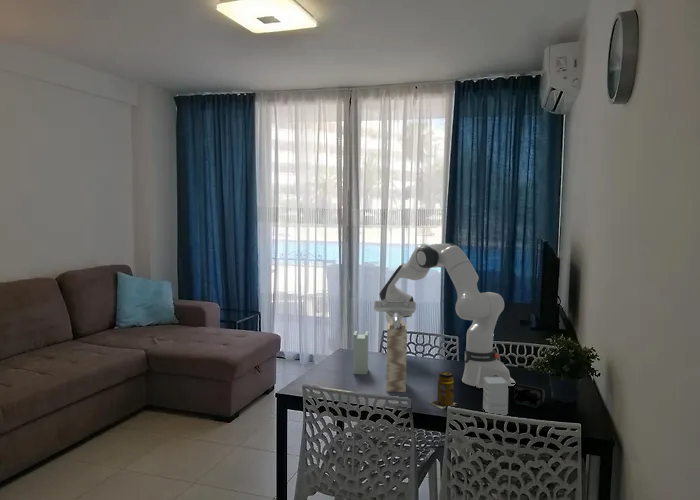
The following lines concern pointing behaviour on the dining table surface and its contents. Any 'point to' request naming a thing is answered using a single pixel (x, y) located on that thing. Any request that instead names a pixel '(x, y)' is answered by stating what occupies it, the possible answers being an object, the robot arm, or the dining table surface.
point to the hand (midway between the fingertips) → (395, 301)
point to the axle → (396, 321)
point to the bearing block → (396, 357)
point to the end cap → (529, 394)
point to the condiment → (445, 390)
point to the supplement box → (495, 395)
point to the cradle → (360, 353)
